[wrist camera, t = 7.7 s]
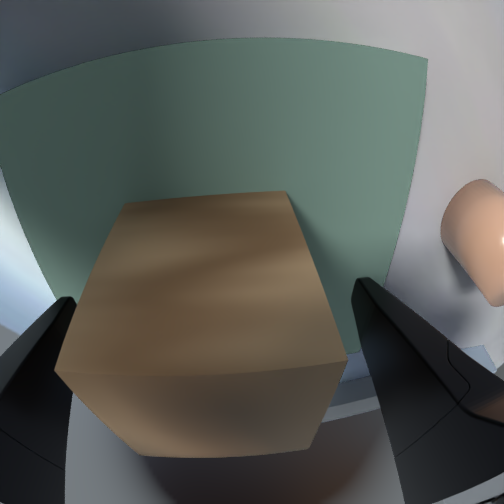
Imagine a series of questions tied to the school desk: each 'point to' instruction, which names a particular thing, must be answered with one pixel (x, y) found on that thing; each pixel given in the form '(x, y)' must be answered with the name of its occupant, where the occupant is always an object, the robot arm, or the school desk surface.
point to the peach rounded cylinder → (478, 236)
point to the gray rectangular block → (352, 399)
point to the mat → (220, 148)
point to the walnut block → (205, 329)
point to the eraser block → (481, 357)
